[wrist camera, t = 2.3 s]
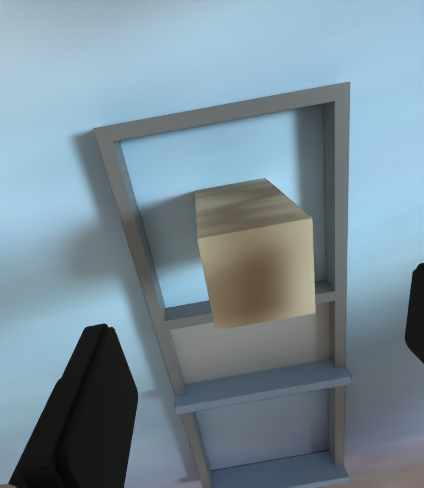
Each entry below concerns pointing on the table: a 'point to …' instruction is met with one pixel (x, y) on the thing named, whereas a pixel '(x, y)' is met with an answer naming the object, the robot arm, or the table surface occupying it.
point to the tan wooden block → (255, 254)
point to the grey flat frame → (261, 334)
